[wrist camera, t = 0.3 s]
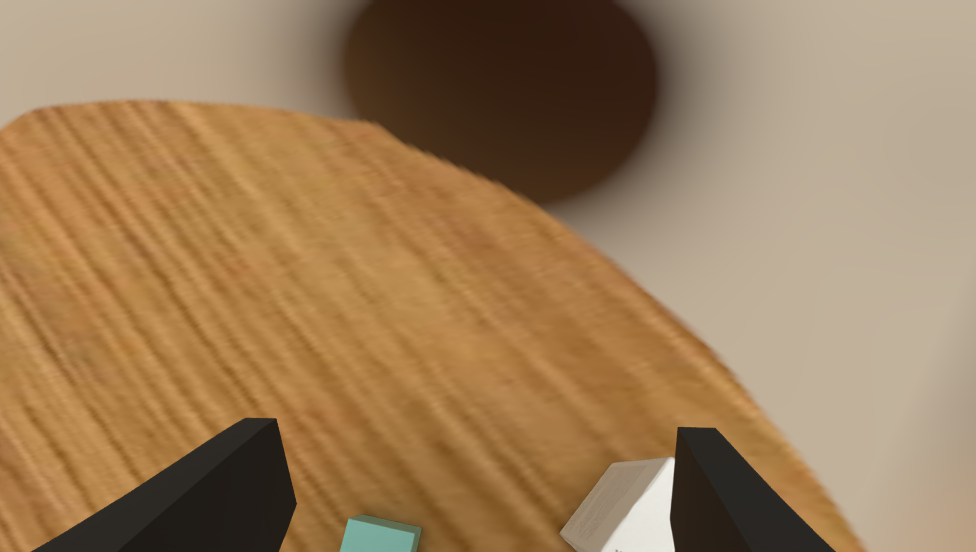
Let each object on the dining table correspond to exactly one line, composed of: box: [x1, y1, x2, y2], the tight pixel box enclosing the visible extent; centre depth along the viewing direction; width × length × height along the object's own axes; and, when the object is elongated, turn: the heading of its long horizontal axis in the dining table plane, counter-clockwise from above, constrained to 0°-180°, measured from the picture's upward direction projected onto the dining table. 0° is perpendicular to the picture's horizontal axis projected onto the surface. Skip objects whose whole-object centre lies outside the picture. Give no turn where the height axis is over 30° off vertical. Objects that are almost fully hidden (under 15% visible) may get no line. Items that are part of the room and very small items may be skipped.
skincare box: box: [559, 457, 675, 552], centre depth 31 cm, size 6×4×12 cm
